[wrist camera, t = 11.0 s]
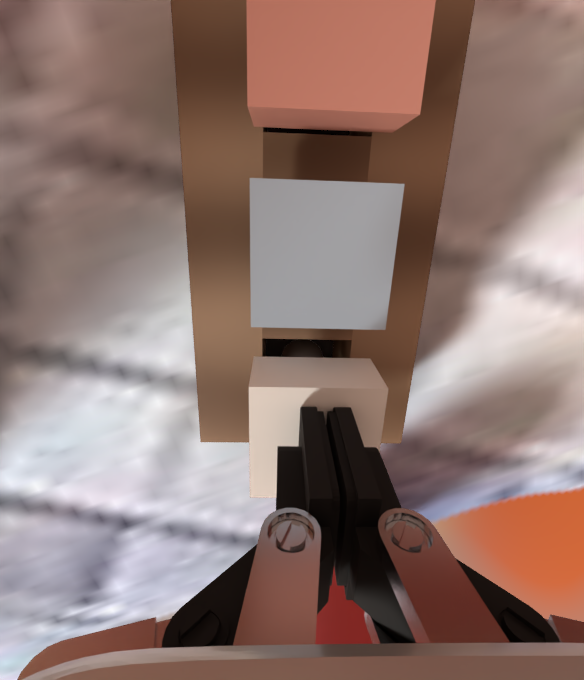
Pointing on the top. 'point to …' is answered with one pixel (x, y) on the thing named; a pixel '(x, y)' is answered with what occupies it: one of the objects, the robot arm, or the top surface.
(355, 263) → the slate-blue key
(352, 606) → the beer can
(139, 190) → the top surface
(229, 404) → the walnut console
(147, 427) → the top surface
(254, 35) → the brick-red key
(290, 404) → the white key
